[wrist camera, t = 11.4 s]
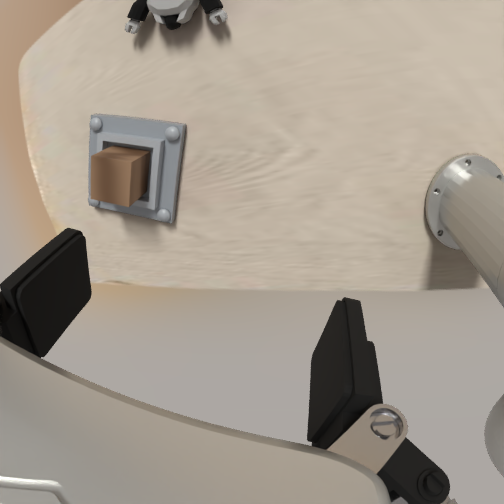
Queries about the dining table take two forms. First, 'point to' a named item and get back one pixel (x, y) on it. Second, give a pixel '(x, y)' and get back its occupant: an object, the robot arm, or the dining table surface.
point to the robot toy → (172, 12)
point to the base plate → (160, 167)
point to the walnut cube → (119, 175)
